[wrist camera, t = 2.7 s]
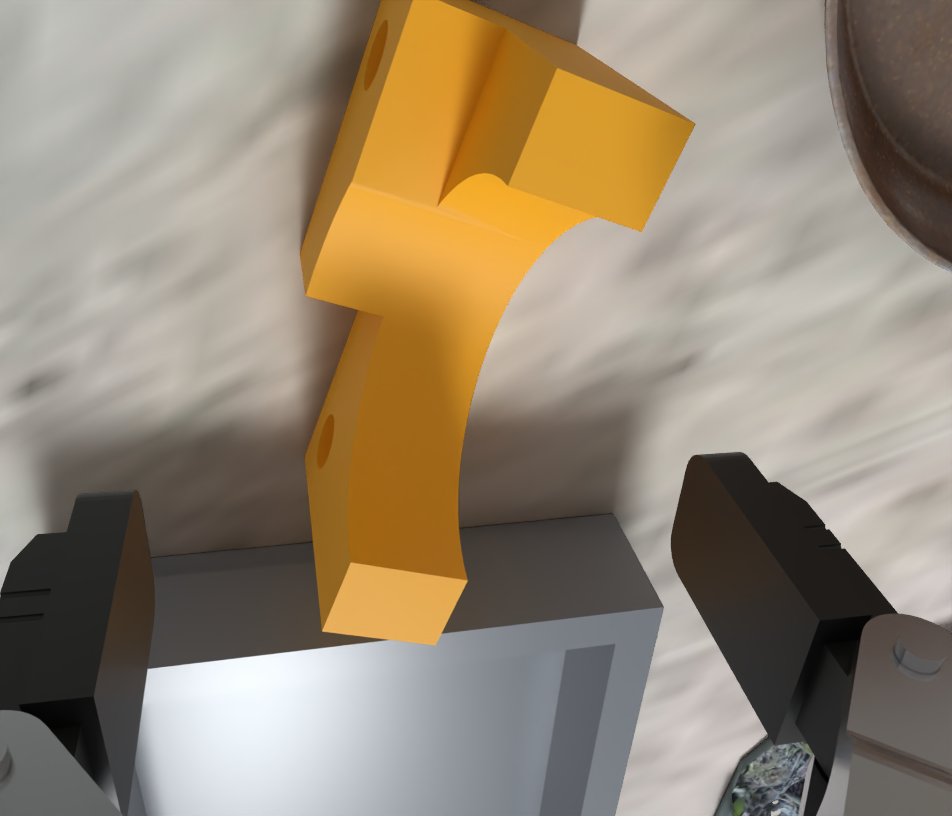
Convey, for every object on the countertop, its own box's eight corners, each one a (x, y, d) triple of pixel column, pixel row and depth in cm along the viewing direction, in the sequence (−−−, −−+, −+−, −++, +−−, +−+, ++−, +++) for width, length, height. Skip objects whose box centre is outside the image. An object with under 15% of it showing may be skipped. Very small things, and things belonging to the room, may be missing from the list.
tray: (149, 956, 35) (140, 1073, 32) (51, 567, 24) (21, 684, 21) (547, 882, 38) (575, 982, 35) (613, 513, 28) (663, 606, 24)
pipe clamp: (390, -33, 18) (451, 24, 13) (575, 44, 20) (695, 123, 15) (238, 441, 24) (237, 621, 18) (394, 472, 25) (435, 645, 20)
